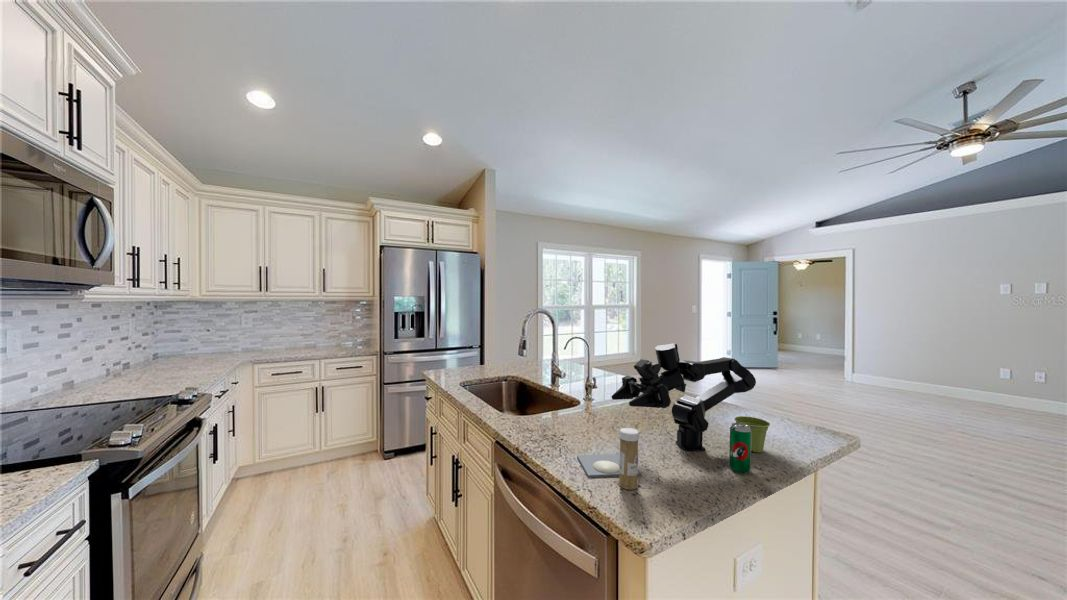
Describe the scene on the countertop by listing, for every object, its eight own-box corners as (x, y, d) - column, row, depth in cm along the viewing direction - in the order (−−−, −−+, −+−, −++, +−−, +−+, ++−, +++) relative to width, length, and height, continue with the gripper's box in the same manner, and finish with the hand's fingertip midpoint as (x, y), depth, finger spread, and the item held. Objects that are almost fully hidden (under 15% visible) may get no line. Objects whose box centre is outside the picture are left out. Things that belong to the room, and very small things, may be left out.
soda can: (755, 473, 97) (756, 428, 97) (738, 474, 96) (739, 429, 96) (741, 465, 102) (742, 421, 102) (724, 466, 101) (725, 422, 101)
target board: (624, 455, 107) (624, 452, 107) (641, 475, 95) (641, 472, 95) (577, 457, 105) (577, 454, 105) (588, 477, 93) (588, 474, 93)
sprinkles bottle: (636, 492, 87) (638, 434, 87) (617, 488, 88) (618, 432, 88) (638, 483, 91) (639, 428, 91) (619, 479, 93) (621, 426, 93)
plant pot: (726, 445, 116) (727, 417, 116) (747, 441, 120) (748, 414, 120) (755, 457, 108) (756, 427, 108) (776, 452, 112) (777, 424, 111)
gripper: (638, 353, 119) (597, 370, 114) (678, 359, 101) (631, 378, 96) (647, 386, 119) (606, 404, 114) (689, 398, 101) (642, 419, 96)
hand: (620, 401), depth 105 cm, fingers open, 9 cm apart
